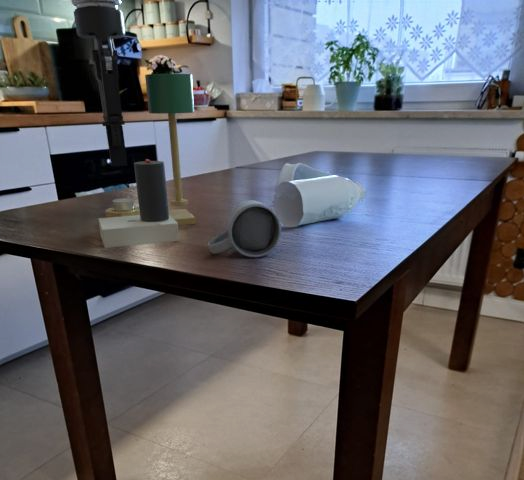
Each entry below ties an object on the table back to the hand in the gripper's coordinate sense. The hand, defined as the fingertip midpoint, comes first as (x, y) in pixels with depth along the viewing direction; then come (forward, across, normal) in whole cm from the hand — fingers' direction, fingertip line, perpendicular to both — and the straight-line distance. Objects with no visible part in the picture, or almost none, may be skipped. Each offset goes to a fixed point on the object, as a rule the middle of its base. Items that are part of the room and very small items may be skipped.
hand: (119, 165), depth 92 cm
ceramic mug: (+11, -26, -15) cm, 32 cm away
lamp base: (+11, +1, -5) cm, 12 cm away
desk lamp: (+8, +1, -10) cm, 13 cm away
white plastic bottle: (+11, -10, -35) cm, 38 cm away
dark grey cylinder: (+8, -11, -4) cm, 14 cm away
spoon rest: (+11, +22, -45) cm, 51 cm away
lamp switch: (+8, 0, 0) cm, 8 cm away
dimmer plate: (+11, -11, -1) cm, 15 cm away
